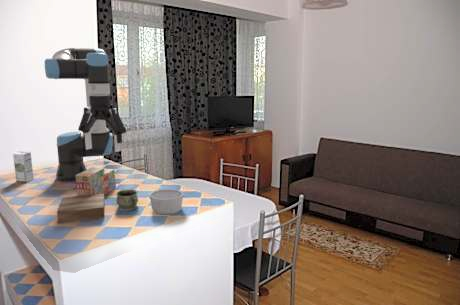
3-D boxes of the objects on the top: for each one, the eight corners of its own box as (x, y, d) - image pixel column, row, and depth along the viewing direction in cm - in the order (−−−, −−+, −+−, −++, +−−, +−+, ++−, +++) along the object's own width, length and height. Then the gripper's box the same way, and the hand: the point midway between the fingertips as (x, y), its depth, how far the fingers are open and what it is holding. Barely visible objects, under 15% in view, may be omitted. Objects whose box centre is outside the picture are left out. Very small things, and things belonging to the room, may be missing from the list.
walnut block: (63, 208, 148) (62, 197, 147) (104, 204, 153) (103, 193, 152) (58, 224, 133) (57, 211, 132) (104, 219, 138) (103, 207, 137)
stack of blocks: (104, 187, 175) (102, 162, 172) (116, 188, 173) (114, 163, 171) (77, 202, 154) (75, 174, 151) (90, 203, 153) (88, 175, 150)
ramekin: (168, 201, 156) (168, 186, 155) (190, 209, 148) (190, 193, 146) (143, 210, 146) (142, 194, 145) (164, 219, 138) (164, 202, 136)
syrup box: (34, 179, 185) (31, 151, 182) (26, 182, 179) (23, 153, 176) (24, 178, 186) (20, 150, 183) (15, 181, 180) (12, 153, 177)
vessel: (109, 206, 150) (108, 192, 149) (127, 200, 157) (126, 186, 155) (127, 213, 143) (127, 198, 142) (145, 207, 150) (144, 192, 148)
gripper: (65, 94, 138) (70, 149, 142) (121, 96, 130) (125, 154, 135) (79, 94, 145) (83, 146, 149) (133, 95, 137) (136, 150, 141)
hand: (103, 150), depth 142 cm, fingers open, 13 cm apart
